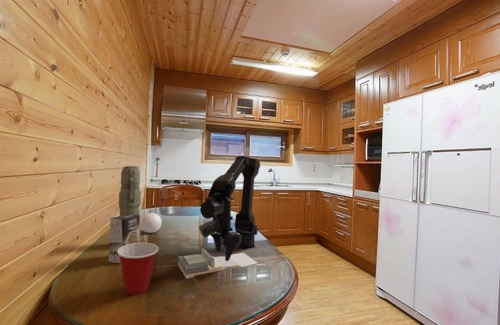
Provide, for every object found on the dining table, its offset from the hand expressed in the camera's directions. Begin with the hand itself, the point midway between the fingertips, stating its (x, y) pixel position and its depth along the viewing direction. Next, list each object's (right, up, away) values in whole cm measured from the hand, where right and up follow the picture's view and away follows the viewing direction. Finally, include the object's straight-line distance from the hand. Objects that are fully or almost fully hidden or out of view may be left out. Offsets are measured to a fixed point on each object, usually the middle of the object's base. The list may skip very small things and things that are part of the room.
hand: (222, 256), depth 90 cm
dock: (-2, -3, -1) cm, 4 cm away
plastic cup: (-22, -2, -20) cm, 30 cm away
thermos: (-44, -3, +20) cm, 48 cm away
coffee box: (-38, -3, +4) cm, 38 cm away
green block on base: (-8, -1, -5) cm, 10 cm away
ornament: (-42, -3, +41) cm, 59 cm away
